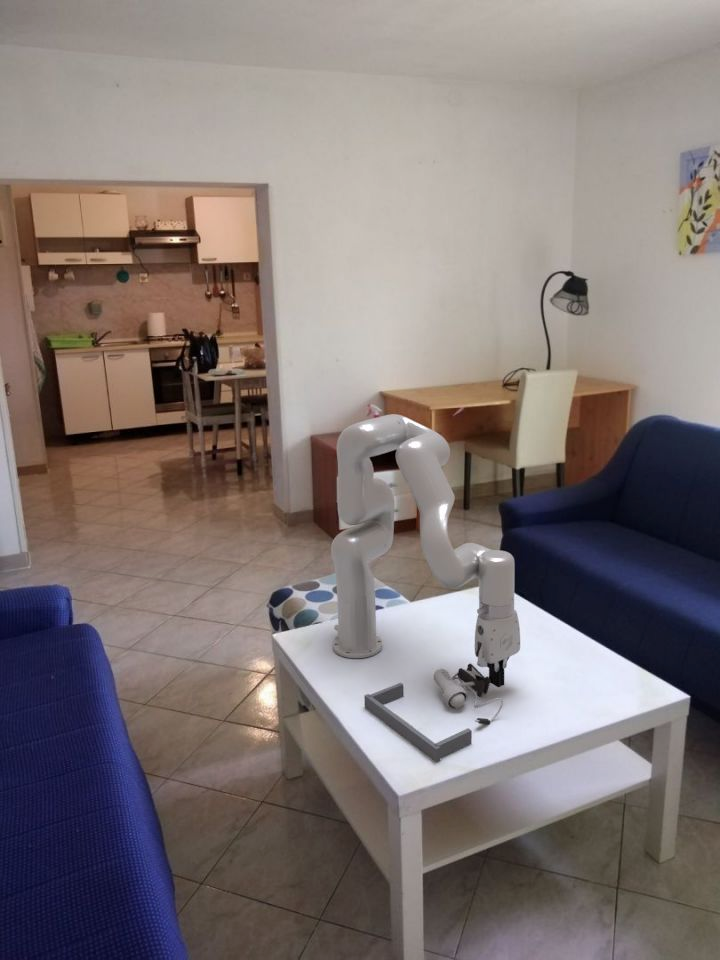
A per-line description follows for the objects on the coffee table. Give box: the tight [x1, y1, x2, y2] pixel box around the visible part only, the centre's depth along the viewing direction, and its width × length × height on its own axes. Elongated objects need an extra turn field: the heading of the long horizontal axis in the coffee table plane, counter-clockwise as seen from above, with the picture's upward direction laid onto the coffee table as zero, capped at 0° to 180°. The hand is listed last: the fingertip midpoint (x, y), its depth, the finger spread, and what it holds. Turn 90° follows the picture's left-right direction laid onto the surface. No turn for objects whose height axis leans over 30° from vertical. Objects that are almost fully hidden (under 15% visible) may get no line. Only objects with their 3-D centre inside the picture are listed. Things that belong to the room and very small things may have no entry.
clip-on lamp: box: [432, 663, 504, 725], centre depth 158 cm, size 12×6×18 cm
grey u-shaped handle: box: [363, 682, 473, 764], centre depth 151 cm, size 24×10×3 cm, turn 34°
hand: (496, 683), depth 163 cm, fingers closed
